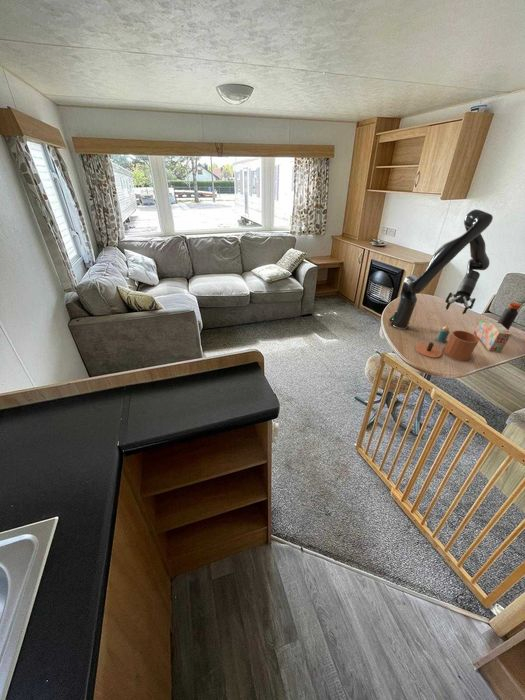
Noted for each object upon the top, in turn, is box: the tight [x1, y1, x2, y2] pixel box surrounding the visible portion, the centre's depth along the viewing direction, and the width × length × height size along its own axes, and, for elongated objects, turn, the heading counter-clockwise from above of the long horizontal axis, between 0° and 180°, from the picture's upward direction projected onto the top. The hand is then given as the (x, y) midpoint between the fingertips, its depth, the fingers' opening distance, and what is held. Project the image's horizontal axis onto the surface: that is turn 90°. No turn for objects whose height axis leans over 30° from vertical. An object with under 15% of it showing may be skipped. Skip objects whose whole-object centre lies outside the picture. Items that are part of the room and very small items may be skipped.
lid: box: [415, 341, 443, 359], centre depth 161 cm, size 14×14×6 cm
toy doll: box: [436, 325, 450, 343], centre depth 170 cm, size 5×5×10 cm
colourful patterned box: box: [474, 319, 512, 353], centre depth 170 cm, size 21×6×12 cm, turn 168°
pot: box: [443, 329, 480, 361], centre depth 158 cm, size 12×12×12 cm
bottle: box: [497, 302, 522, 331], centre depth 178 cm, size 7×7×20 cm
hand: (455, 311), depth 172 cm, fingers open, 8 cm apart
